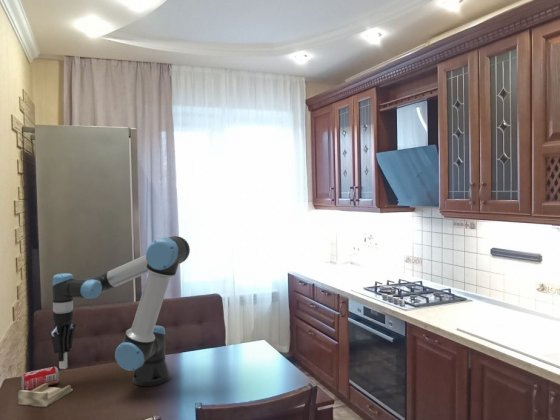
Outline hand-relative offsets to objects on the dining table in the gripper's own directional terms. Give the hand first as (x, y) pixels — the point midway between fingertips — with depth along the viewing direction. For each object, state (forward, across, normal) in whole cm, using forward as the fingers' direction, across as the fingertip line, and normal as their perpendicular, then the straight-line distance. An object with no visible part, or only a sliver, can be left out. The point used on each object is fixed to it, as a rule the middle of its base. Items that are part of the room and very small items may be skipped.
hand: (63, 367), depth 179 cm
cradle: (+8, +9, 0) cm, 12 cm away
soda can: (+4, -3, -5) cm, 7 cm away
